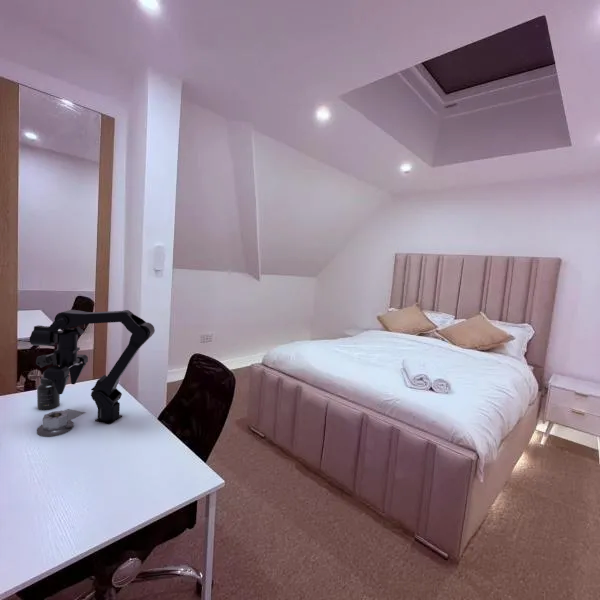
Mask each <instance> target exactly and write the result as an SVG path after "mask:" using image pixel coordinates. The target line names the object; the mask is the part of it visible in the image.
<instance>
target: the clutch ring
mask: <svg viewBox="0 0 600 600" xmlns="http://www.w3.org/2000/svg"><path fill="white" fill-rule="evenodd" d="M54 417H55V418H54ZM67 424H68V412H65V410H57V411H51V412H48V413H46V414H44V415H43V418H42V425H43V430H44V431H48V432H51V431H59V430H61V429H63V428H65V427H67Z"/></svg>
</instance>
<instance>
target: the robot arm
mask: <svg viewBox="0 0 600 600" xmlns="http://www.w3.org/2000/svg"><path fill="white" fill-rule="evenodd" d="M110 323H121V324H122V325H123V327H125V329H126V330H127V331H128V332H129V333H130V334H131V335H130V337H129V340H128V341H129V342H128V344H127V345H126V347H125V349H124V351H123V352H122V354H121V355H120V357H118V360H117V361H116V362H115V364H114V365H113V367H112V369H111V370H110V371H109V373H108V374H107V375H106V374H103V375H102V376H101V377H100V378H98V379H97V380H96V382H95V385H94V386H93V387H92V388H91V389H90V390H91V393H90V396H91V399H92V400H93V401H94V402H95V405H96V408H97V418H96V419H94V422H97V423H100V424H106V425H111V424H113V423H114V422H117V421H118V420H120V419H122V418H123V415H122V414H120V408H121V406H120V402H119V400H120V399H121V397H122V396H123V393H122V392H121V391H120V390H119V389H118V388H117V387H118V385H119V381H120V378H121V376H122V375H123V373H124V372H125V371H126V370H127V368H128V367H129V364H131V362H132V360H133V359H134V357H135V356H136V354H137V353H138V352H139V350H140V348H141V347H142V346H144V344H145V343H147V341H148V340H149V339H150V338H151V337H152V336H153V335H154V334H155V330H156V329H155V326H154V325H153V324H152V323H151V322H147V321H146V320H144V319H143V318H141V317H139V316H138V315H136V314H134V313H133V312H132V311H130V310H129V309H124V310H112V311H95V312H94V311H92V312H91V311H90V312H89V311H83V310H79V309H78V310H76V309H68V310H64V311H61V312H58V313H57V314H56V315H55V317H54V321H53V322H52V323H51V324H50V325H48V326H44V325H40V324H39V325H35V326H33V330H32V331H31V334H30V335H29V343H30V344H31V345H32V346H44V347H45V346H46V347H49V346H50V347H53V346H54V345H55V344H57V346H56V347H57V349H54V351H53V353H50V354H42V355H39V356H37V357H36V360H35V365H37V366H39V367H40V368H44V367H45V366H50V365H51V366H50V367H48V368H46V369H45V370H44V371H43V372H42V377H43V378H46V379H50V380H51V381H53V383H54V385H55V387H56V390H57V392H58V394H60V395H62V394H63V393H64V391H65V388H66V386H67V383H68V380H69V377H70V383H71V385H75V384H76V383H77V382H78V380H79V378H80V376H81V374H82V372H83V370H84V368H85V367H86V366H87V363H88V362H89V356H87V354H78V352H79V351H80V350H81V349H80V347H78V336H80V335H82V334H84V333H85V330H83V329H82V328H80V326H82V325H87V324H88V325H89V324H110ZM61 329H64V330H61Z"/></svg>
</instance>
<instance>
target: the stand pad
mask: <svg viewBox="0 0 600 600" xmlns="http://www.w3.org/2000/svg"><path fill="white" fill-rule="evenodd" d="M64 411H65V412H68V420H71V421H72V420H73V419H76V418H78V417H80V416H82V415H84V414H86V413H87V412H85V411H80V410H76V409H70V408H66V409H64Z"/></svg>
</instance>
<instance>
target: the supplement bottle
mask: <svg viewBox="0 0 600 600" xmlns="http://www.w3.org/2000/svg"><path fill="white" fill-rule="evenodd" d="M39 381H40V382H39V383H40V384H39V385H37V387H36V397H37V398H36V399H37V402H36V403H37V404H36V405H37V409H38V410H39V411H49V410H53V409H54V410H55V409H56V408H58V407H60V403H61V402H60V401H61V400H60V398H61V397H60V395H61V394H58V392H57V390H56V387H55V385H54V383H53V381H51V380H50V379H46V378H43V376H41V377H40V380H39Z"/></svg>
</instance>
